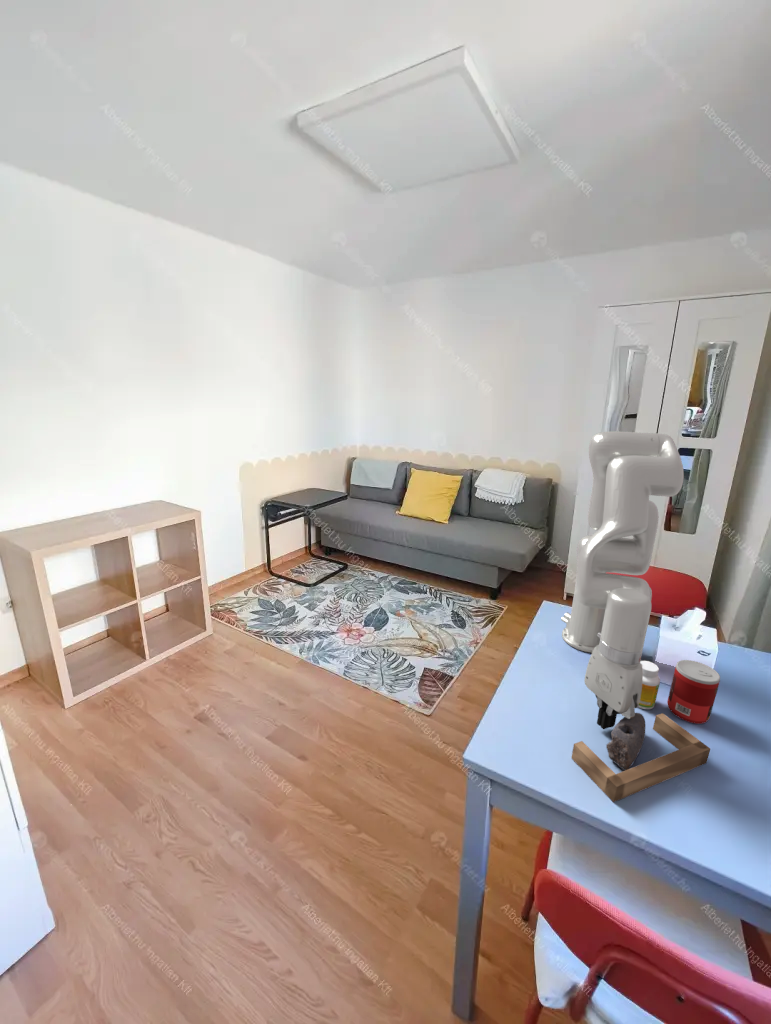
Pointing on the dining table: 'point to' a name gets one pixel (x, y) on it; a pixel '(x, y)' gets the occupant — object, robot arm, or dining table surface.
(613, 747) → the perforated stone tool
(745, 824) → the dining table surface
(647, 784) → the bay
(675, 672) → the canned food
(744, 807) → the dining table surface
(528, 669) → the dining table surface
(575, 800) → the dining table surface
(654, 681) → the supplement bottle
